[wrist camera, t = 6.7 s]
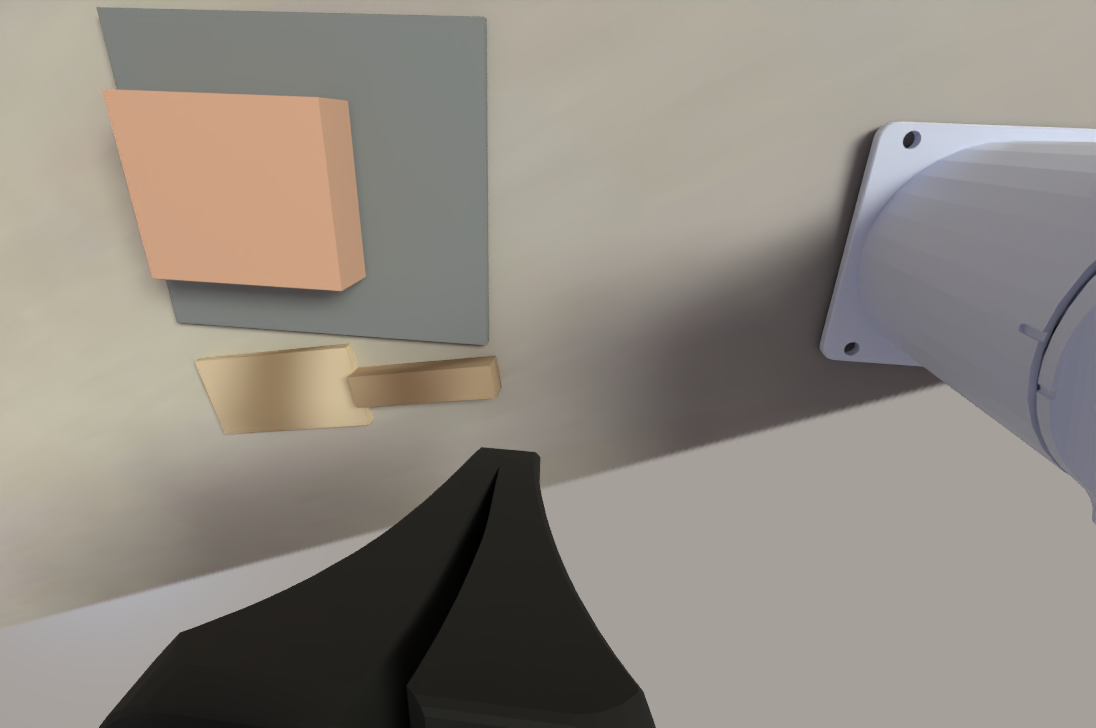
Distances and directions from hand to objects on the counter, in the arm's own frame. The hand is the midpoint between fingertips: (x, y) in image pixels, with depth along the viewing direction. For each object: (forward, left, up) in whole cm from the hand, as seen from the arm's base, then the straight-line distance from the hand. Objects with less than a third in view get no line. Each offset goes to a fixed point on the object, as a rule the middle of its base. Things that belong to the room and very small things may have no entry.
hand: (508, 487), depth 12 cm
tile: (+7, -5, -8) cm, 12 cm away
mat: (+9, -5, -10) cm, 14 cm away
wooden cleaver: (+9, +3, -10) cm, 14 cm away
